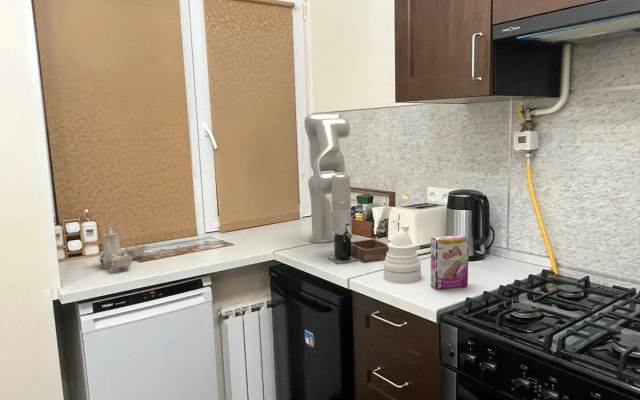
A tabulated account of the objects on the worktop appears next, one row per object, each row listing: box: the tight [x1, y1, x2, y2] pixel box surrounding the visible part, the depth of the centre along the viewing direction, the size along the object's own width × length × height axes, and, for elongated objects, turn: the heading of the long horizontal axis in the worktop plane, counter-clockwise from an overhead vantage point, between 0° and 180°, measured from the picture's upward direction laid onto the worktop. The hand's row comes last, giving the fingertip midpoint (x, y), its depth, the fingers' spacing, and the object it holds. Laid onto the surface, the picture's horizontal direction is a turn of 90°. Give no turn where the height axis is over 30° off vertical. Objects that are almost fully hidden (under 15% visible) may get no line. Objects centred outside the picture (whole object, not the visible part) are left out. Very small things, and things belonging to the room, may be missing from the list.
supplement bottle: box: [333, 232, 352, 259], centre depth 195 cm, size 7×7×12 cm
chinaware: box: [98, 226, 147, 272], centre depth 201 cm, size 28×17×17 cm, turn 9°
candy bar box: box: [430, 235, 470, 290], centre depth 157 cm, size 11×5×16 cm, turn 99°
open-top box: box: [351, 238, 389, 264], centre depth 200 cm, size 16×13×5 cm
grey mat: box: [328, 256, 359, 265], centre depth 196 cm, size 9×9×1 cm
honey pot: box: [383, 224, 422, 284], centre depth 169 cm, size 13×13×18 cm
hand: (342, 248), depth 195 cm, fingers closed on supplement bottle, 6 cm apart
